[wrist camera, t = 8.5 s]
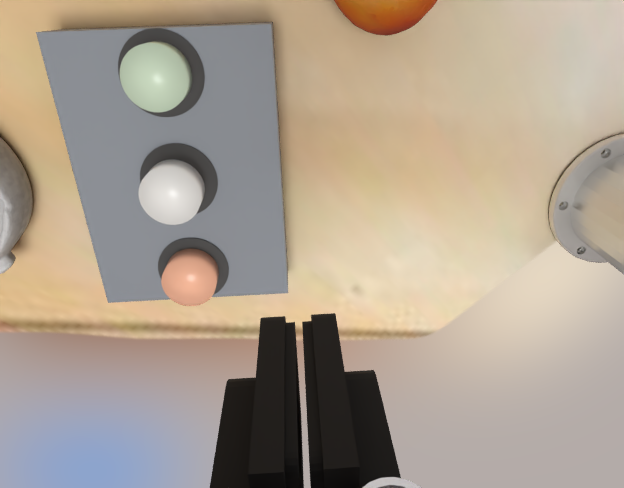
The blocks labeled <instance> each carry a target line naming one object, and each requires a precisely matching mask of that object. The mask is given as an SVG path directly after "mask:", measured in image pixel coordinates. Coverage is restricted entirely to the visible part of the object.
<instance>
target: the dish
mask: <svg viewBox="0 0 624 488" xmlns="http://www.w3.org/2000/svg"><path fill="white" fill-rule="evenodd" d="M32 203H33V199H32V190H31V186H30V182H29V179H28V177H27V174H26V172H25V170H24V168H23V166H22V164H21V162H20V161H19V159H18V158H17V156H16V155H15V153H14V152H13V151H12V149H11V148H10V147H9V146H8V145H7V143H6V142H5V141H4V140H3V139H2V138H1V137H0V274H1V273H4V272H5V271H6V270H7V269H9V268H10V267H11V266H12V265H13V263H14V261H15V259H16V258H15V256H14V254H13V253H12V252H11V249H12V248H13V247H14V245H15V244H16V243H17V241H18V240H19V238H20V237H21V235H22V234H23V232H24V231H25V229H26V227H27V225H28V223H29V220H30V217H31V213H32Z"/></svg>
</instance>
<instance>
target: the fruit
mask: <svg viewBox="0 0 624 488" xmlns="http://www.w3.org/2000/svg"><path fill="white" fill-rule="evenodd" d="M334 1H335V2H336V4H337V6H338V7H339V9H340V10H341V11H342V12H343V14H344V15H345V16H346V17H347V18H348V19H349V20H350V21H351V22H352V23H353V24H354V25H355V26H357V27H359V28H361V29H363V30H365V31H367V32H370V33H373V34H377V35H392V34H396V33H399V32H402V31H404V30H407V29H409V28H411V27H412V26H414V25H415V24H416V23H417V22H419V21H420V20H421V19H422V18H423V16H424V15H425V14H426V13H427V12H428V11H429V10H430V9H431V8H432V7H433V6H434V4H435V3H436V1H437V0H334Z"/></svg>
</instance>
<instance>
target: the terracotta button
mask: <svg viewBox="0 0 624 488" xmlns="http://www.w3.org/2000/svg"><path fill="white" fill-rule="evenodd" d="M218 276H219V269H218V266H217V263H216V261H215V260H214V259H213V258H212V257H211V256H210V255H209V254H207V253H206V252H204V251H201V250H198V249H183V250H180V251H178V252H176V253H175V254H174V255H173V256H172V257H171V258H170V259H169V261H168V263H167V266H166V268H165V270H164V272H163V275H162V279H161V283H162V288H163V290H164V292H165V294H166V295H167V296H168V297H169V298H170V299H171V300H173V301H174V302H176V303H178V304H181V305H185V306H196V305H200V304H203V303H205V302H207V301H208V300H209V299H210V298H211V297H212V296H213V294H214V292H215V289H216V285H217V280H218Z"/></svg>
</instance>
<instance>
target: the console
mask: <svg viewBox="0 0 624 488" xmlns="http://www.w3.org/2000/svg"><path fill="white" fill-rule="evenodd" d="M36 34H37V37H38V41H39V45H40V49H41V52H42V56H43V60H44V64H45V67H46V71H47V75H48V79H49V83H50V86H51V90H52V94H53V98H54V101H55V105H56V109H57V113H58V116H59V120H60V124H61V128H62V131H63V135H64V139H65V143H66V146H67V150H68V154H69V158H70V161H71V165H72V169H73V173H74V176H75V180H76V184H77V188H78V191H79V195H80V199H81V203H82V206H83V210H84V214H85V218H86V221H87V225H88V229H89V233H90V236H91V240H92V244H93V248H94V252H95V255H96V259H97V263H98V267H99V270H100V274H101V278H102V282H103V285H104V289H105V293H106V297H107V300H108V303H111V302H129V301H148V300H167V299H170V298H169V297H168V296H167V295H166V294H165V292H164V290H163V288H162V283H161V279H162V275H163V272H164V270H165V268H166V266H167V263H168V261H169V259H170V258H171V257H172V256H173V255H174V254H175V253H176V252H178V251H180V250H183V249H198V250H201V251H204V252H206V253H207V254H209V255H210V256H211V257H212V258H213V259H214V260H215V261H216V263H217V266H218V269H219V276H218V280H217V285H216V289H215V292H214V294H213V296H212V297H223V296H241V295H260V294H278V293H288V266H287V250H286V234H285V217H284V201H283V185H282V168H281V152H280V136H279V119H278V103H277V87H276V70H275V54H274V38H273V22H262V23H233V24H205V25H176V26H148V27H119V28H91V29H62V30H52V31H43V32H36ZM153 41H160V42H165V43H168V44H170V45H172V46H174V47H176V48H177V49H178V50H179V51H180V52H181V53H182V54H183V55H184V56H185V57H186V59H187V61H188V63H189V65H190V68H191V72H192V85H191V89H190V91H189V93H188V95H187V96H186V97H185V99H184V100H183V101H182V102H180V103H179V104H178V105H177V106H176V107H175V108H173V109H171V110H169V111H165V112H150V111H147V110H144V109H142V108H140V107H139V106H137V105H136V104H134V103H133V102H132V101H131V100H130V99H129V97H128V96H127V95H126V93H125V91H124V89H123V87H122V84H121V81H120V66H121V62H122V60H123V58H124V56H125V55H126V54H127V52H128V51H129V50H131V49H132V48H134V47H135V46H138V45H140V44H144V43H148V42H153ZM164 160H180V161H183V162H186V163H188V164H190V165H191V166H192V167H194V168H195V169H196V170H197V171H198V172H199V174H200V175H201V177H202V179H203V182H204V186H205V193H204V197H203V200H202V202H201V205H200V207H199V210H198V211H197V213H196V214H195V216H194V217H193V218H192V219H190V220H189V221H187V222H185V223H182V224H177V225H169V224H164V223H161V222H158V221H156V220H154V219H153V218H151V217H150V216H149V215H148V214H147V213H146V212H145V210H144V209H143V207H142V206H141V203H140V200H139V186H140V183H141V181H142V180H143V178H144V177H145V176H146V174H147V173H148V172H149V171H150V169H151V168H152V167H153V166H154V165H156V164H157V163H159V162H161V161H164Z"/></svg>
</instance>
